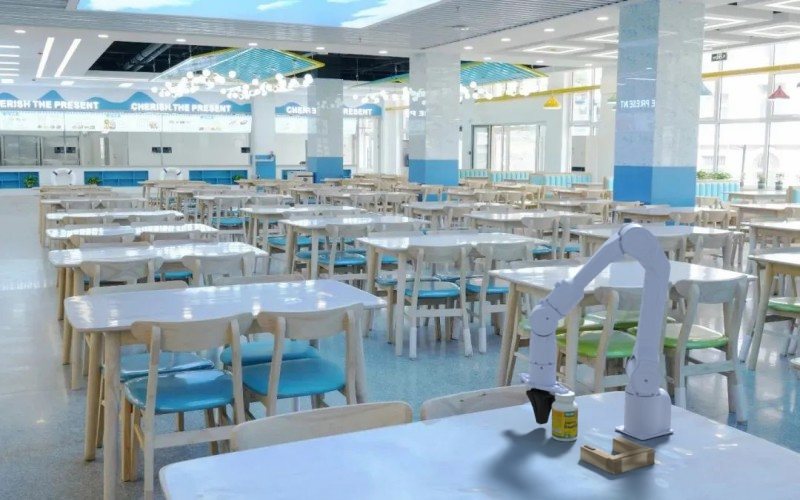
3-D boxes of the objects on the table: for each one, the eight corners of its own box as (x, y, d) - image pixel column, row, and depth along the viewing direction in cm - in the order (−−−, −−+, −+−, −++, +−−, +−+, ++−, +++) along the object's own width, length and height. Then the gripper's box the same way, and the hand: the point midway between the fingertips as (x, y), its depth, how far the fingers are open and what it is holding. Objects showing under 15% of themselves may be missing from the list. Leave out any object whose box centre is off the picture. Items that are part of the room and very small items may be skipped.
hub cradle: (619, 448, 164) (620, 435, 164) (654, 463, 157) (654, 449, 156) (580, 458, 159) (580, 445, 159) (613, 474, 152) (614, 460, 151)
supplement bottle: (564, 431, 175) (565, 387, 173) (583, 438, 170) (584, 393, 169) (545, 436, 172) (546, 391, 170) (564, 444, 167) (565, 398, 166)
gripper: (506, 356, 179) (506, 416, 181) (550, 372, 167) (549, 436, 169) (532, 352, 183) (531, 411, 185) (577, 367, 170) (575, 430, 172)
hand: (541, 422), depth 177 cm, fingers closed
